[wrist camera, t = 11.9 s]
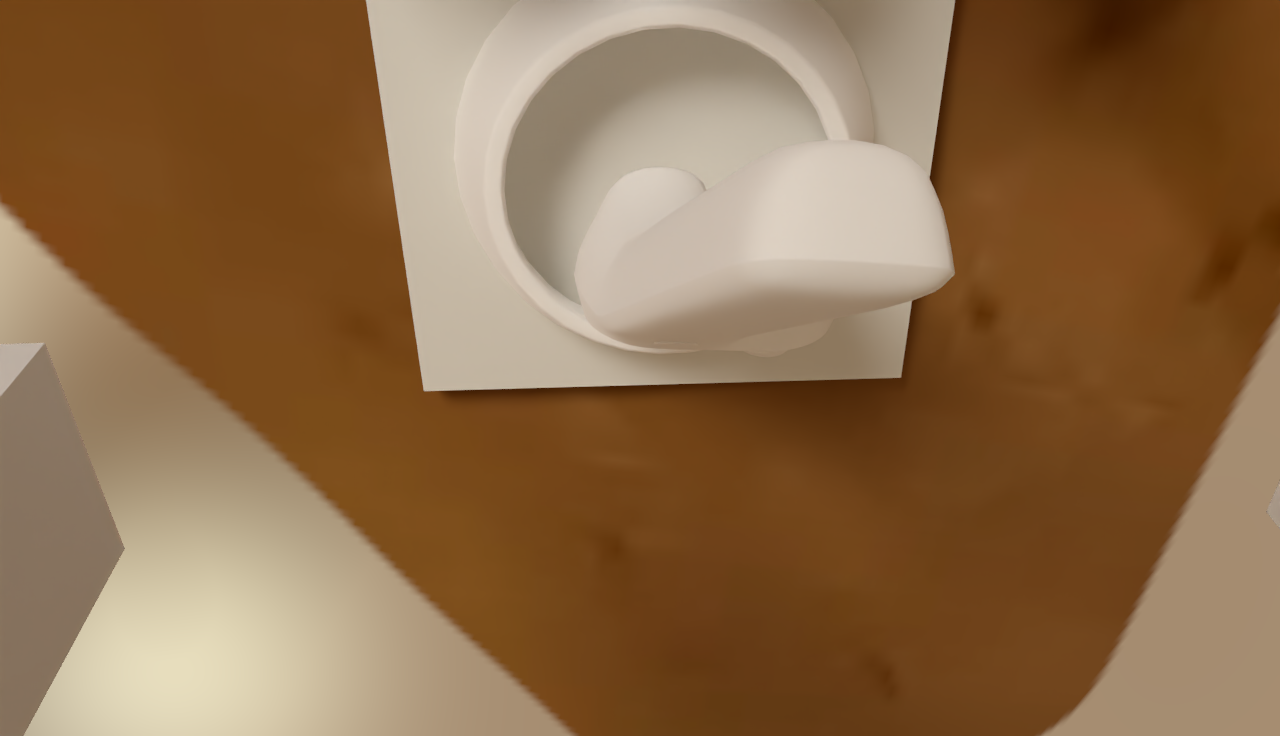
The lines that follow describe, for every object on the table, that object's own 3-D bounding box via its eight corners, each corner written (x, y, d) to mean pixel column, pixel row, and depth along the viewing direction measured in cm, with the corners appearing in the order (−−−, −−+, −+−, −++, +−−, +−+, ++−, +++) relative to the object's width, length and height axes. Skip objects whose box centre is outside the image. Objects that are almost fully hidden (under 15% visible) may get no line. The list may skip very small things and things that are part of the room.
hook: (1217, -395, 11) (1303, 280, 10) (789, 34, 22) (826, 358, 22) (484, -460, 9) (570, 350, 9) (435, 42, 21) (471, 394, 20)
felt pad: (353, -144, 17) (345, -140, 16) (965, -155, 17) (976, -151, 17) (427, 375, 22) (423, 391, 22) (894, 362, 22) (901, 377, 22)
